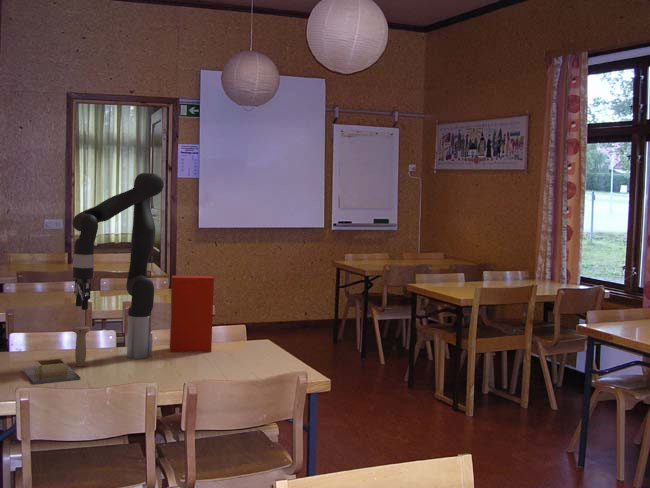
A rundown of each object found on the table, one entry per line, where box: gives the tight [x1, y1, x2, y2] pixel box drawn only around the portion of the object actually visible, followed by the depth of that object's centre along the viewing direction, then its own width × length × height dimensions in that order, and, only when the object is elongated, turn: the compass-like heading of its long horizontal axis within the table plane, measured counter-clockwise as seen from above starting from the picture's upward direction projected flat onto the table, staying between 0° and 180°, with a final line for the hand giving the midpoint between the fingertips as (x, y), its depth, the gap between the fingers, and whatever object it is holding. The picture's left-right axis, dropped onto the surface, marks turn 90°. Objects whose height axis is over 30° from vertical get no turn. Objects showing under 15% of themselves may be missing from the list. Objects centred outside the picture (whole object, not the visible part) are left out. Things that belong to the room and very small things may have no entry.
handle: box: [72, 325, 91, 368], centre depth 282 cm, size 5×6×15 cm
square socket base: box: [21, 357, 81, 385], centre depth 268 cm, size 16×20×5 cm
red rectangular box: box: [169, 275, 215, 353], centre depth 316 cm, size 8×17×32 cm, turn 104°
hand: (81, 307), depth 281 cm, fingers open, 8 cm apart
